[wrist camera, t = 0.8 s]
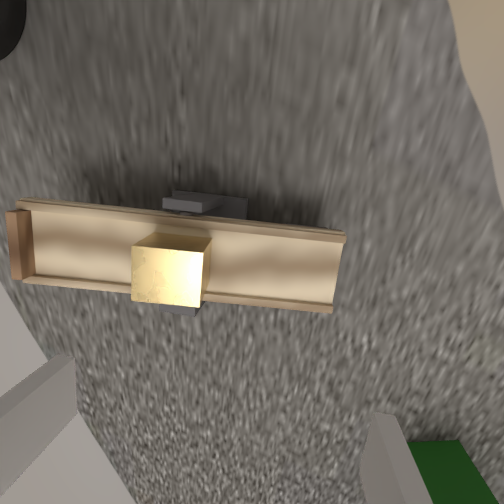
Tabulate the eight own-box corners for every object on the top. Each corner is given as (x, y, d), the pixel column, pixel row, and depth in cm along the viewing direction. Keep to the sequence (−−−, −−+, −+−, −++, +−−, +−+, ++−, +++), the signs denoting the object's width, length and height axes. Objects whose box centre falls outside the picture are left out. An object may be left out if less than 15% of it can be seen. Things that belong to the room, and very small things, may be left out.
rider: (154, 231, 31) (131, 245, 25) (212, 238, 31) (203, 253, 25) (153, 277, 32) (131, 300, 26) (208, 283, 32) (199, 307, 26)
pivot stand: (176, 189, 41) (133, 194, 30) (248, 198, 40) (232, 206, 29) (172, 274, 44) (133, 306, 33) (239, 284, 43) (221, 321, 32)
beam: (55, 191, 35) (3, 196, 28) (331, 221, 36) (352, 234, 29) (59, 268, 38) (13, 292, 30) (318, 295, 39) (334, 323, 31)
